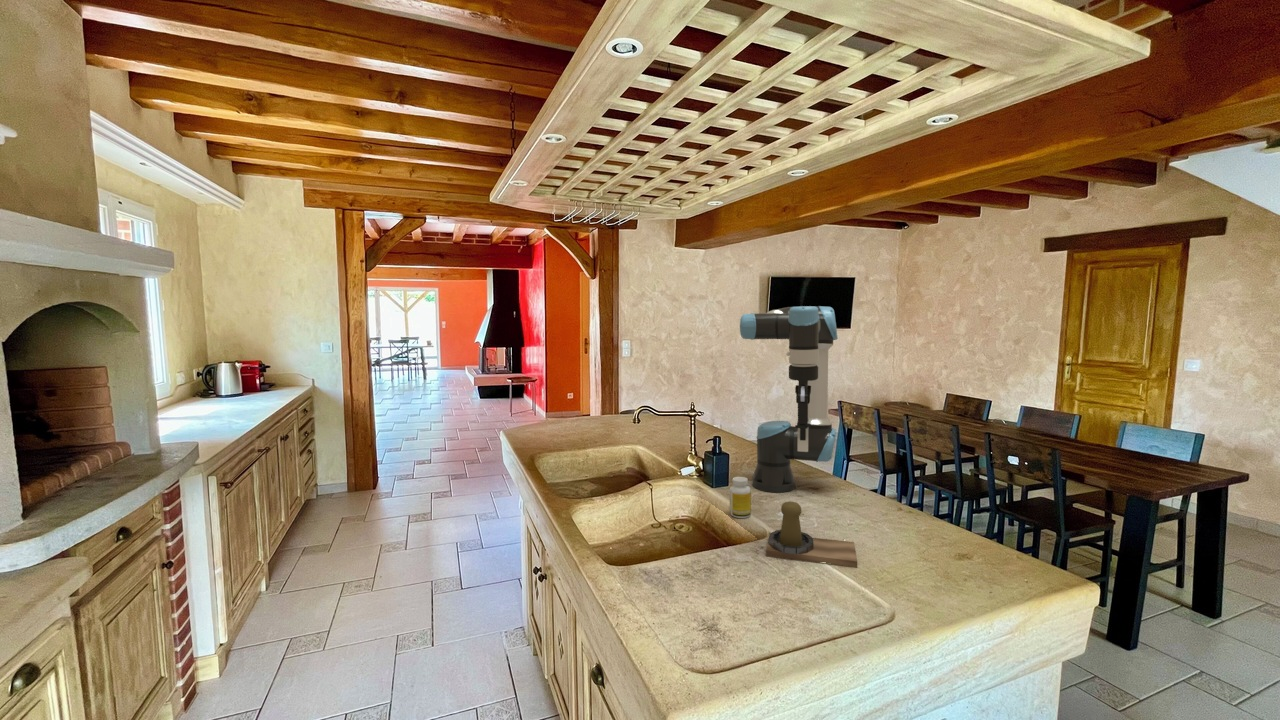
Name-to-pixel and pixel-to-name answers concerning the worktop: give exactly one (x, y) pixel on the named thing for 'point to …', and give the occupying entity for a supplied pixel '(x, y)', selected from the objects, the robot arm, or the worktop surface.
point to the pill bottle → (740, 498)
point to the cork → (791, 524)
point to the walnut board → (823, 553)
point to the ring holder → (805, 548)
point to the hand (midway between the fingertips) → (802, 450)
